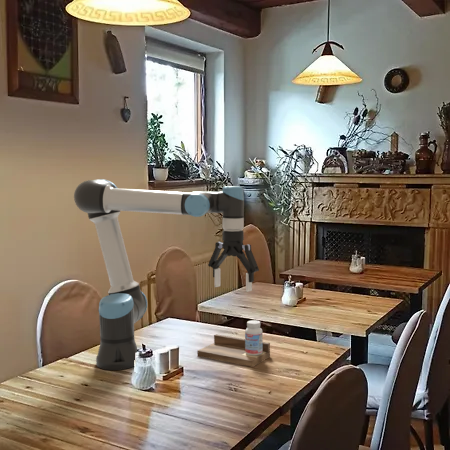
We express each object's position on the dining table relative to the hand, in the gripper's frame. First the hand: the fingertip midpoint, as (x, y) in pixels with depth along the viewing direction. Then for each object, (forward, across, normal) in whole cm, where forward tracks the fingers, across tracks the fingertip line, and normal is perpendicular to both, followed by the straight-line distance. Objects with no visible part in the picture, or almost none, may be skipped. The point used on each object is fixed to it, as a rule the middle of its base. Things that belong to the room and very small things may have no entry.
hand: (232, 288), depth 211 cm
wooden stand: (+24, -2, +3) cm, 24 cm away
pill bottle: (+22, -10, +1) cm, 24 cm away
